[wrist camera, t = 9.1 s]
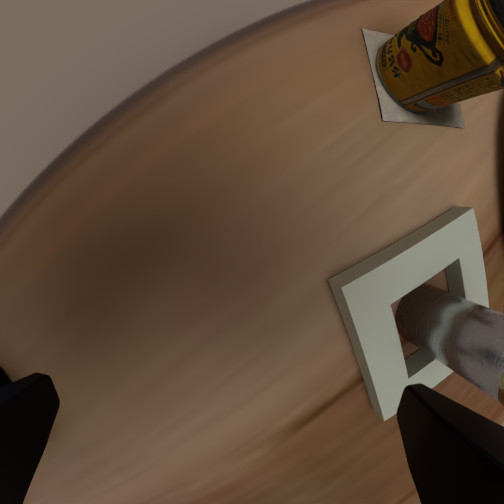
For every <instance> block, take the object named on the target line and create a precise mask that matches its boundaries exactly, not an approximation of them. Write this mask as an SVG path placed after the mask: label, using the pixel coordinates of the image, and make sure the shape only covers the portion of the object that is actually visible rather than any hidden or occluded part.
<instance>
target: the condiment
mask: <svg viewBox="0 0 504 504" xmlns="http://www.w3.org/2000/svg"><path fill="white" fill-rule="evenodd" d="M362 31H363V34H364V38H365V43H366V46H367V51H368V56H369V59H370V64H371V68H372V72H373V76H374V80H375V85H376V90H377V93H378V98H379V100H380V106H381V111H382V117H383V121H394V122H409V123H421V124H434V125H442V126H451V127H460V128H465V125H464V120H463V118H462V114H461V110H460V105H459V102H460V101H463V100H466V99H470V98H473V97H476V96H479V95H482V94H487V93H490V92H493V91H497V90H500V89H504V0H444V1H443V2H441V3H440V4H438V5H437V6H435V7H434V8H432V9H431V10H429V11H428V12H426V13H425V14H423V15H421V16H420V17H419V18H418V19H417V20H415V21H413V22H412V23H410V24H409V25H408V26H406V27H405V28H404V29H402V30H401V31H399V32H398V33H397V34H396V35H390V34H386V33H380V32H376V31H370V30H366V29H363V28H362ZM434 110H435V111H434Z"/></svg>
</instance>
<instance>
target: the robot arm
mask: <svg viewBox="0 0 504 504" xmlns="http://www.w3.org/2000/svg"><path fill="white" fill-rule="evenodd" d="M59 405H60V401H59V397H58V394H57V392H56V389H55V387H54V384H53V381H52V379H51V378H50V376H48V375H46V374H42V373H34V374H31V375H29V376H27V377H24V378H22V379H19V380H17V381H15V382H12V383H11V382H10V381H9V379H8V378H7V376H6V375H5V373H4V372H3V370H2V369H1V368H0V504H23V501H24V499H25V496H26V494H27V491H28V488H29V486H30V483H31V481H32V479H33V476H34V474H35V471H36V469H37V466H38V464H39V462H40V459H41V457H42V455H43V452H44V450H45V447H46V444H47V441H48V438H49V435H50V432H51V429H52V426H53V423H54V420H55V417H56V415H57V412H58V409H59ZM397 420H398V424H399V428H400V432H401V436H402V441H403V445H404V449H405V453H406V458H407V462H408V466H409V469H410V472H411V475H412V478H413V481H414V483H415V486H416V489H417V492H418V495H419V498H420V501H421V504H504V427H503V426H501V425H499V424H497V423H495V422H493V421H491V420H490V419H488V418H486V417H484V416H482V415H480V414H478V413H476V412H474V411H472V410H470V409H468V408H467V407H465V406H463V405H461V404H459V403H457V402H455V401H453V400H451V399H450V398H448V397H446V396H444V395H442V394H440V393H438V392H437V391H435V390H433V389H431V388H429V387H427V386H426V385H424V384H422V383H417V384H411V385H407V386H406V387H405V388H404V390H403V393H402V396H401V400H400V403H399V406H398V409H397Z"/></svg>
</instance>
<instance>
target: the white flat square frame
mask: <svg viewBox="0 0 504 504" xmlns="http://www.w3.org/2000/svg"><path fill="white" fill-rule="evenodd" d="M444 268H445V272H446V277H447V282H448V287H449V293H452V294H454V295H457V296H460V297H462V298H465V299H467V300H470V301H472V302H475V303H477V304H480V305H482V306H485V307H487V308H489V303H488V292H487V283H486V275H485V268H484V261H483V255H482V249H481V243H480V237H479V232H478V227H477V223H476V218H475V213H474V209H473V208H472V207H456V206H455V207H454V208H452V209H450V210H449V211H447V212H445V213H444V214H442V215H441V216H439V217H437V218H436V219H434V220H432V221H431V222H429V223H427V224H426V225H424V226H422V227H421V228H419V229H417V230H416V231H414V232H412V233H411V234H409V235H407V236H405V237H404V238H402V239H400V240H399V241H397V242H395V243H393V244H392V245H390V246H388V247H386V248H385V249H383V250H381V251H379V252H378V253H376V254H374V255H372V256H370V257H369V258H367V259H365V260H363V261H361V262H360V263H358V264H356V265H354V266H352V267H350V268H349V269H347V270H345V271H343V272H341V273H339V274H338V275H336V276H334V277H332V278H330V279H328V281H329V284H330V287H331V289H332V292H333V294H334V297H335V300H336V302H337V305H338V308H339V311H340V313H341V316H342V319H343V321H344V324H345V327H346V330H347V333H348V335H349V338H350V341H351V344H352V347H353V350H354V353H355V356H356V358H357V361H358V364H359V367H360V370H361V373H362V376H363V379H364V382H365V385H366V388H367V392H368V395H369V398H370V401H371V404H372V407H373V409H374V410H375V411H376V412H377V413H378V414H379V416H380V417H381V418H382V419H383V420H384V421H385V420H387V419H388V418H390V417H392V416H393V415H395V414H396V413H397V409H398V406H399V403H400V400H401V396H402V393H403V390H404V388H405V387H406V386H407V385H411V384H417V383H422V384H424V385H426V386H427V387H429V388H431V389H432V388H433V387H434V386H436V385H437V384H438V383H439V382H441V381H442V380H443V379H445V378H446V377H447V376H448V375H450V374H451V373H452V372H453V371H452V370H451V369H449V368H448V367H447V366H445V365H444V364H442V363H441V362H439V361H438V360H436V359H435V358H433V357H432V356H430V355H429V354H427V353H426V352H424V351H423V350H421V349H420V350H419V351H417V352H416V353H415V354H413V355H412V356H410V357H409V358H407V359H406V360H405V361H404V356H403V352H402V348H401V343H400V339H399V335H398V331H397V327H396V323H395V320H394V316H393V312H392V308H391V305H390V304H392V303H394V302H395V301H397V300H398V299H400V298H401V297H403V296H404V295H406V294H408V293H409V292H411V291H412V290H414V289H415V288H417V287H418V286H420V285H421V284H423V283H424V282H425V281H427V280H428V279H430V278H431V277H433V276H434V275H436V274H437V273H438V272H440V271H441V270H443V269H444Z"/></svg>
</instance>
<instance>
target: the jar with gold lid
mask: <svg viewBox="0 0 504 504" xmlns="http://www.w3.org/2000/svg"><path fill="white" fill-rule="evenodd" d="M395 320H396V327H397V331H398V333H399V334H400V335H401V336H402V337H403V338H405V339H406V340H408V341H409V342H411V343H412V344H414V345H415V346H417V347H418V348H420V349H421V350H423V351H424V352H426V353H427V354H429V355H430V356H432V357H433V358H435V359H436V360H438V361H439V362H441V363H442V364H444V365H445V366H447V367H448V368H449V369H451V370H452V371H454V372H455V373H457V374H458V375H460V376H461V377H463V378H464V379H466V380H467V381H469V382H470V383H472V384H473V385H475V386H476V387H478V388H479V389H481V390H482V391H483V392H485V393H486V394H488V395H489V396H491V397H492V398H494V399H495V400H497V401H498V402H500V403H501V404H503V405H504V314H502V313H500V312H497V311H495V310H492V309H490V308H487V307H485V306H482V305H480V304H477V303H475V302H472V301H470V300H467V299H465V298H462V297H460V296H457V295H454V294H452V293H449V292H447V291H444V290H441V289H439V288H436V287H434V286H431V285H428V284H421V285H420V286H418V287H417V288H415V289H414V290H412V291H411V292H409V293H408V294H406V295H404V297H403V298H402V300H401V302H400V303H399V306H398V309H397V312H396V319H395Z"/></svg>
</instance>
